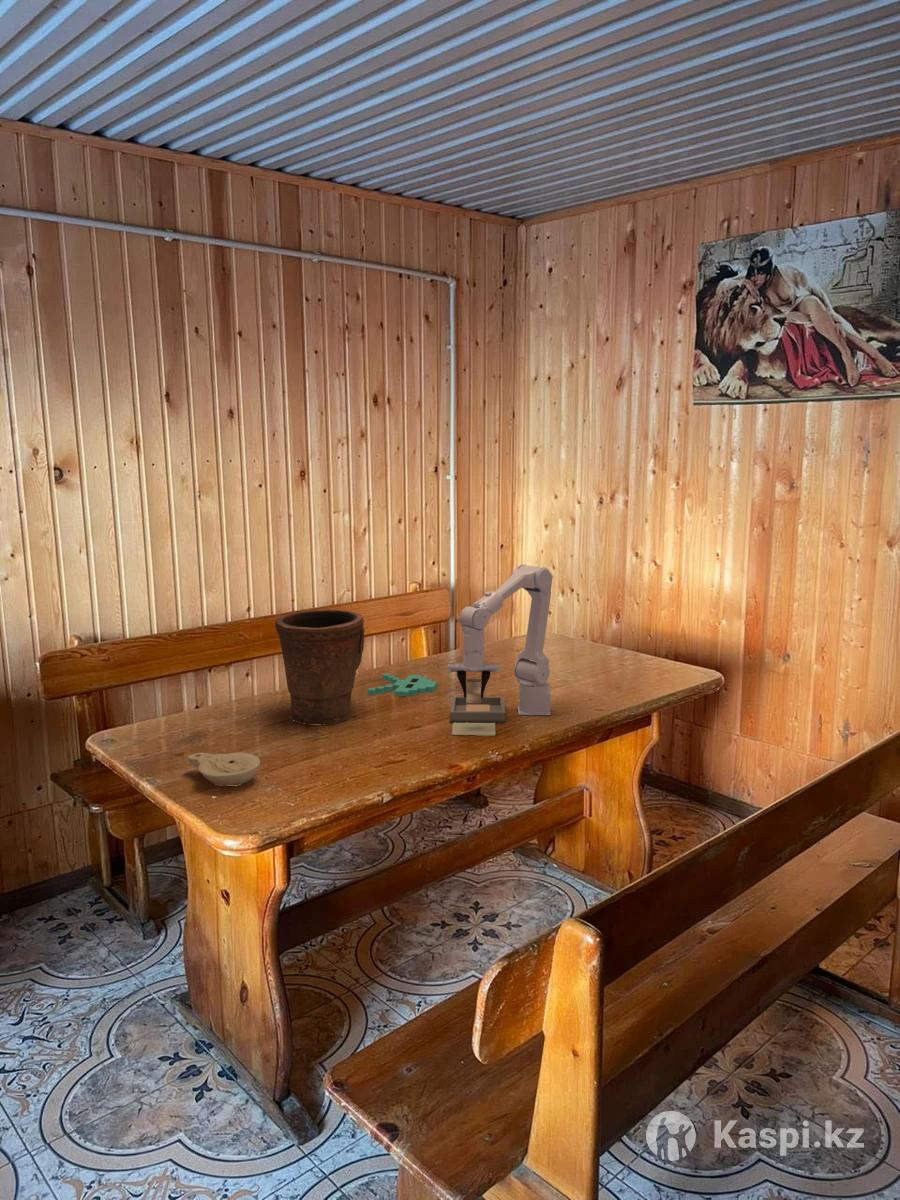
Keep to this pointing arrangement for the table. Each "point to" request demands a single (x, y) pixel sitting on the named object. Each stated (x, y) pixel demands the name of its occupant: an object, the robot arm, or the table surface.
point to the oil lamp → (226, 767)
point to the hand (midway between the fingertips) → (473, 697)
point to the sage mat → (474, 729)
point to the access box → (478, 710)
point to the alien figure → (405, 685)
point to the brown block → (473, 690)
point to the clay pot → (321, 662)
